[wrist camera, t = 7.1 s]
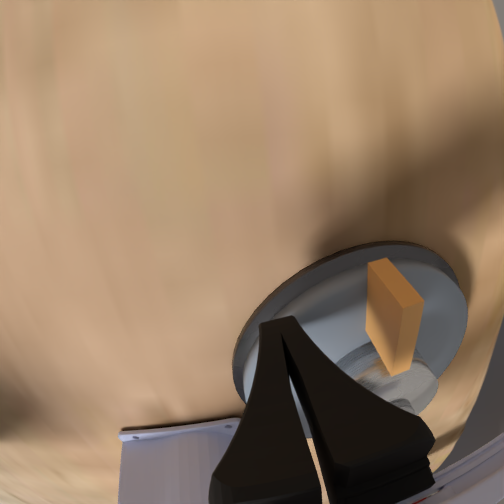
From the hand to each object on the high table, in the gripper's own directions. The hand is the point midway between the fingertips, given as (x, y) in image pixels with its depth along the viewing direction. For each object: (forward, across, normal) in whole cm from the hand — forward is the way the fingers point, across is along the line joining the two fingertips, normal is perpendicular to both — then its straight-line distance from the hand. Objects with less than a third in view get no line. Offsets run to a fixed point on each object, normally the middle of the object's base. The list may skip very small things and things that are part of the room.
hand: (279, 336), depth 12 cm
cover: (+1, -5, +6) cm, 8 cm away
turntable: (+3, -5, +6) cm, 8 cm away
